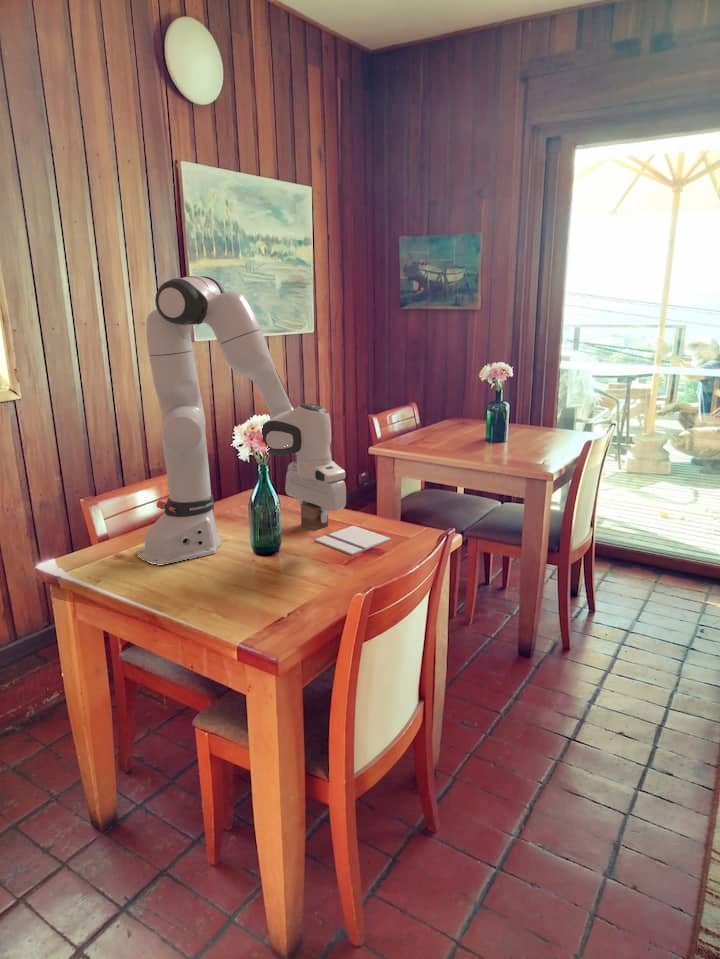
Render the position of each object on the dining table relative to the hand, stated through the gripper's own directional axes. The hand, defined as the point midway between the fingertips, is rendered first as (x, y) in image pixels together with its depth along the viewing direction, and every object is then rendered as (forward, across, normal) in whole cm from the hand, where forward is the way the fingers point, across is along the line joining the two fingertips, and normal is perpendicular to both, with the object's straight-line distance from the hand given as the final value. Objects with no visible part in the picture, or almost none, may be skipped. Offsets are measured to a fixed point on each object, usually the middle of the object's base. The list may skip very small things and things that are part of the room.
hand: (314, 518), depth 172 cm
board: (+10, 0, +14) cm, 17 cm away
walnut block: (+2, 0, 0) cm, 2 cm away
